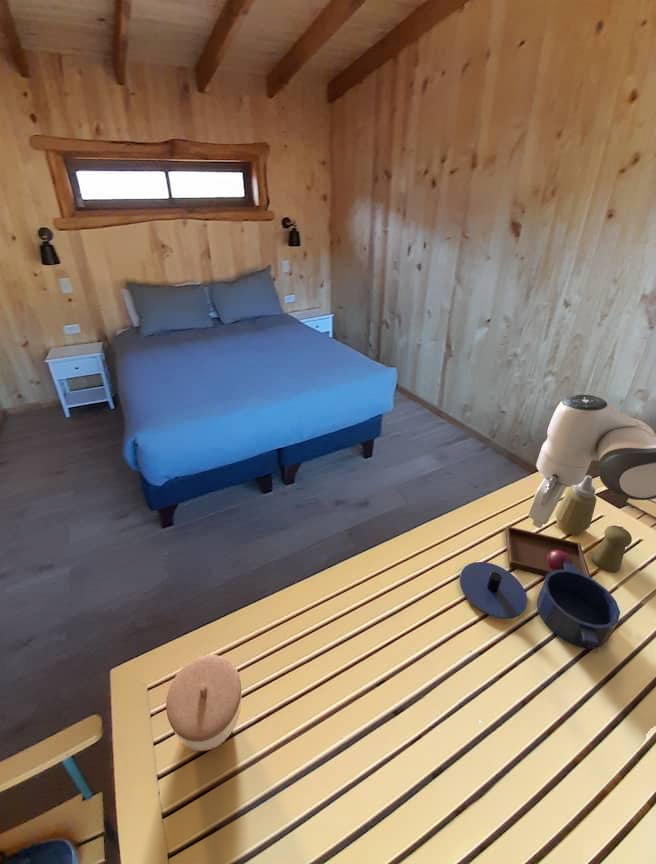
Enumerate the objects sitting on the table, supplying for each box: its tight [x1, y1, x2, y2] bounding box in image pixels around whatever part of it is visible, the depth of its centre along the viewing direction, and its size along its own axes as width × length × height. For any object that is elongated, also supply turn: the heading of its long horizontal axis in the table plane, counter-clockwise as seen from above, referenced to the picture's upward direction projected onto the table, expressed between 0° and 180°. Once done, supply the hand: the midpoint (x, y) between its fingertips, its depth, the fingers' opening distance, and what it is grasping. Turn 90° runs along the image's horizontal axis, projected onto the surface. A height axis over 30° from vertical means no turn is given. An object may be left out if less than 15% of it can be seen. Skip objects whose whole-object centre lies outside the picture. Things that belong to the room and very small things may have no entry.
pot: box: [536, 562, 621, 650], centre depth 87 cm, size 13×19×7 cm
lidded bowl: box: [165, 654, 242, 752], centre depth 70 cm, size 13×13×11 cm
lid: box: [459, 561, 528, 620], centre depth 93 cm, size 14×14×5 cm
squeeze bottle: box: [555, 474, 598, 536], centre depth 107 cm, size 8×8×18 cm
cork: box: [590, 525, 633, 574], centre depth 98 cm, size 6×6×11 cm
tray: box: [504, 525, 592, 578], centre depth 101 cm, size 17×12×2 cm
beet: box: [547, 550, 573, 570], centre depth 97 cm, size 5×5×6 cm
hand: (543, 513), depth 91 cm, fingers open, 8 cm apart
